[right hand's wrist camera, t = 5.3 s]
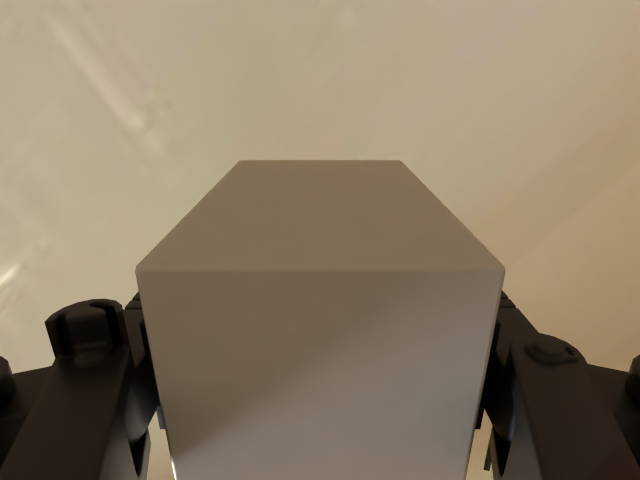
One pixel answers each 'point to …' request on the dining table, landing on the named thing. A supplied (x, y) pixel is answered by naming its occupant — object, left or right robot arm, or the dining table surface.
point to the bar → (320, 326)
